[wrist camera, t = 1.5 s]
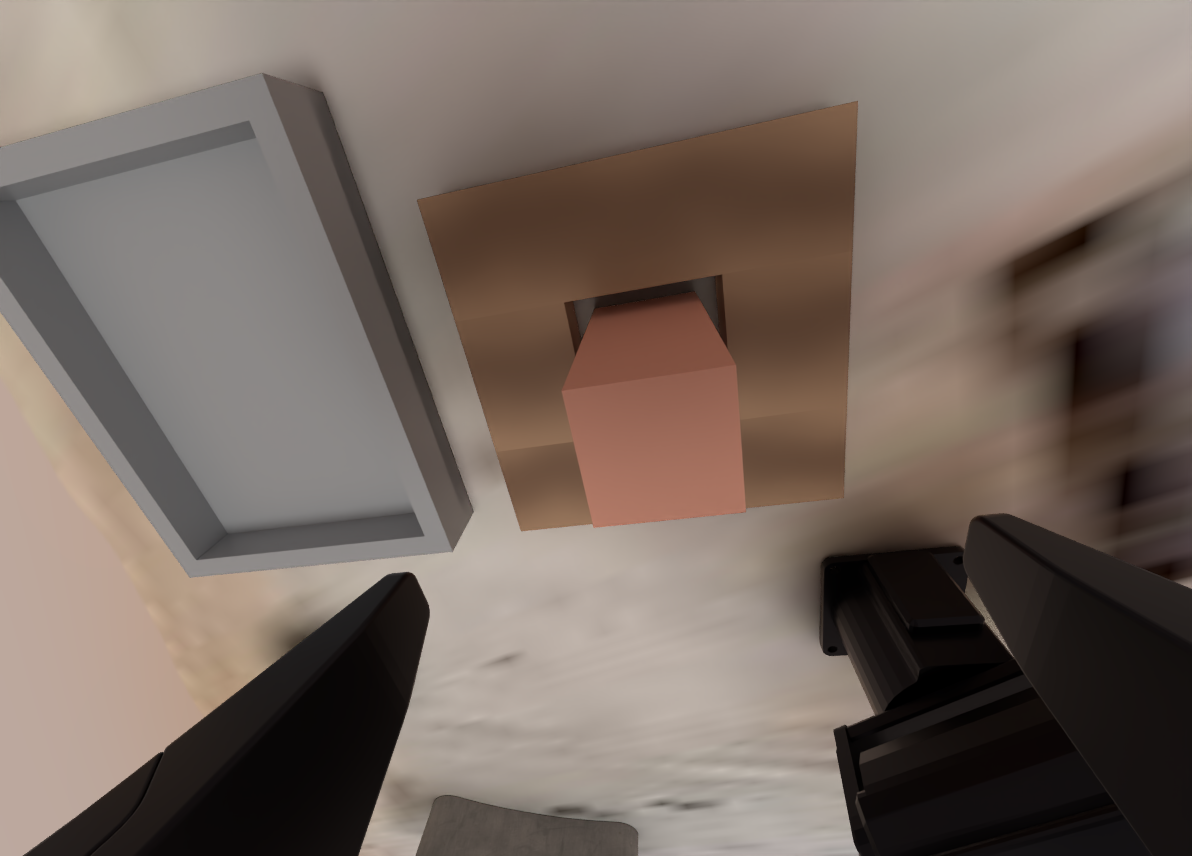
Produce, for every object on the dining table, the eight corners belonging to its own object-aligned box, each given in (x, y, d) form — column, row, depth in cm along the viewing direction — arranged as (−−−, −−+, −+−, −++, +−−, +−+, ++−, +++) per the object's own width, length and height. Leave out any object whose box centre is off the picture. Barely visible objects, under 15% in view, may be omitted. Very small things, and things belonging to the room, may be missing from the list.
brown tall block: (704, 386, 20) (745, 512, 12) (611, 399, 21) (593, 527, 13) (694, 291, 19) (736, 365, 11) (594, 308, 19) (561, 390, 11)
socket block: (826, 472, 22) (843, 497, 20) (530, 506, 24) (520, 531, 22) (833, 111, 16) (858, 100, 14) (439, 199, 18) (416, 200, 16)
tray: (473, 512, 24) (452, 551, 22) (235, 538, 26) (189, 577, 24) (322, 92, 17) (262, 72, 14) (7, 178, 19) (-98, 175, 16)
